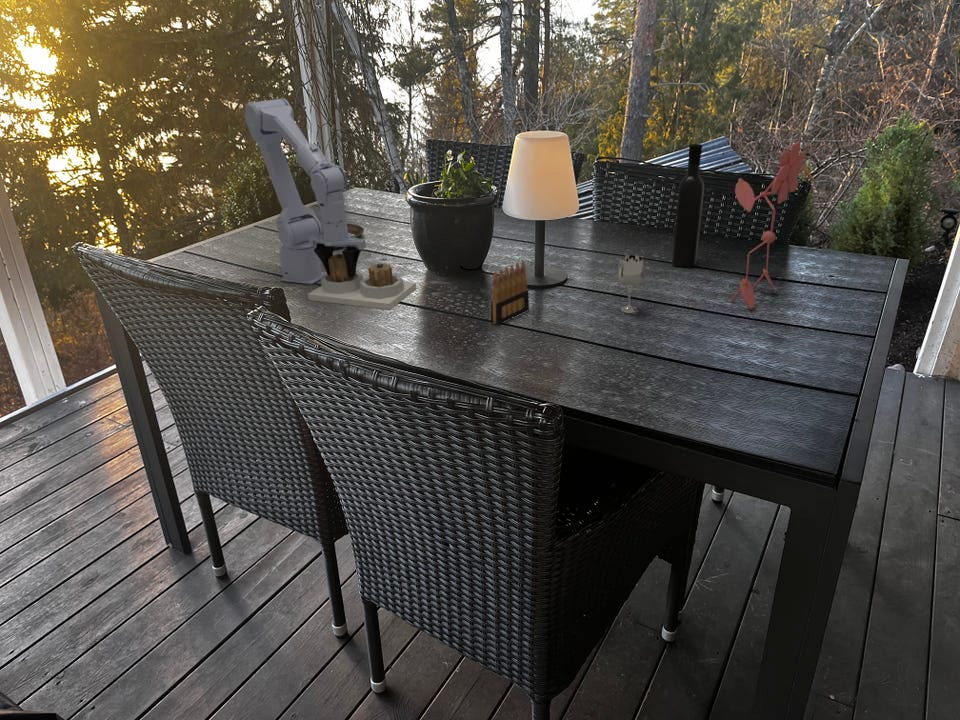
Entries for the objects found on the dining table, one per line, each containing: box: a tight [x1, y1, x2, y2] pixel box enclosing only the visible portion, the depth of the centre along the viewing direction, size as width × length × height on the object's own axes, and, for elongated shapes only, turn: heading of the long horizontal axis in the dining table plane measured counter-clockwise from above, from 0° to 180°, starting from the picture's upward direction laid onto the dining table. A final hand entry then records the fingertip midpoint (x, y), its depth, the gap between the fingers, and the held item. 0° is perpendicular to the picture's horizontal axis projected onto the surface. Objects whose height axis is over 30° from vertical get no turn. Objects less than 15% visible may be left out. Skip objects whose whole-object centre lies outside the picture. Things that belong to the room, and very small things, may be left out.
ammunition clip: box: [490, 260, 530, 326], centre depth 150 cm, size 11×2×12 cm, turn 136°
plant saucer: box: [321, 223, 365, 250], centre depth 209 cm, size 21×21×3 cm
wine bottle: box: [671, 143, 705, 268], centre depth 173 cm, size 6×6×30 cm
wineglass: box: [616, 254, 646, 313], centre depth 151 cm, size 6×6×12 cm
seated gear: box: [368, 263, 393, 287], centre depth 165 cm, size 5×5×7 cm
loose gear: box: [328, 253, 353, 283], centre depth 168 cm, size 5×5×7 cm
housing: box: [307, 270, 417, 311], centre depth 168 cm, size 22×14×4 cm, turn 69°
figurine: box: [730, 139, 816, 310], centre depth 146 cm, size 15×26×35 cm, turn 133°
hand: (341, 275), depth 169 cm, fingers closed on loose gear, 5 cm apart
